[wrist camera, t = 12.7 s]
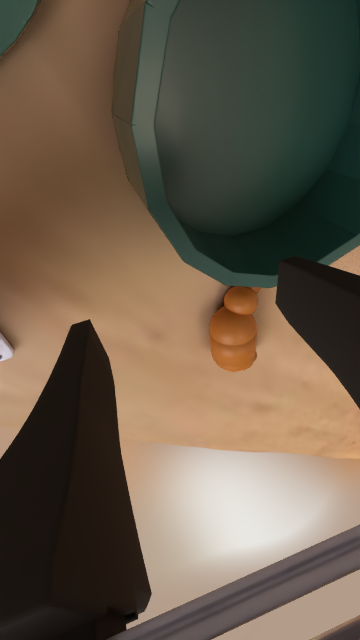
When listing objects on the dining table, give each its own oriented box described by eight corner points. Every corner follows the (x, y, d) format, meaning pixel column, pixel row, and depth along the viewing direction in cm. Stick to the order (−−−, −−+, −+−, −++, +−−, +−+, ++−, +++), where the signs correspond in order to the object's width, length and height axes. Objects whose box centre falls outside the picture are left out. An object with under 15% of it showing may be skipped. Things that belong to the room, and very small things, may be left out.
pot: (148, 267, 20) (171, 319, 15) (60, -92, 10) (56, -229, 6) (333, 214, 22) (401, 247, 17) (411, -129, 12) (609, -251, 8)
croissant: (251, 352, 29) (271, 380, 26) (207, 367, 29) (223, 397, 26) (255, 268, 23) (282, 294, 20) (198, 285, 22) (217, 314, 19)
